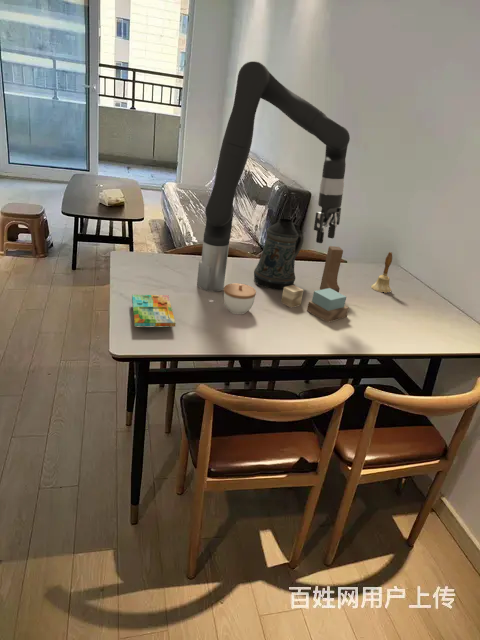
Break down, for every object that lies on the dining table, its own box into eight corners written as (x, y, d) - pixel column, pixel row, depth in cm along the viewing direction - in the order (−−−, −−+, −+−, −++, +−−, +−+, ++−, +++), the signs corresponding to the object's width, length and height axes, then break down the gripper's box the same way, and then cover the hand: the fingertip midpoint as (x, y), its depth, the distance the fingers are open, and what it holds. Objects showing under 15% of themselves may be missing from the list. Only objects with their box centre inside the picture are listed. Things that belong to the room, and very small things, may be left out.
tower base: (327, 323, 162) (330, 313, 160) (306, 311, 168) (308, 301, 166) (346, 317, 168) (348, 307, 166) (324, 306, 174) (327, 296, 172)
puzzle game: (168, 292, 156) (175, 320, 139) (167, 305, 158) (174, 334, 141) (132, 291, 153) (134, 320, 136) (131, 305, 155) (134, 334, 138)
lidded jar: (237, 301, 168) (240, 276, 164) (259, 313, 161) (263, 287, 157) (214, 307, 160) (217, 282, 156) (236, 320, 154) (240, 293, 150)
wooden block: (337, 299, 181) (348, 254, 173) (326, 298, 180) (336, 253, 173) (329, 289, 189) (339, 246, 181) (319, 289, 188) (328, 245, 180)
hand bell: (384, 294, 192) (394, 257, 185) (367, 287, 198) (376, 250, 191) (395, 291, 198) (405, 254, 191) (378, 283, 203) (388, 248, 196)
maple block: (290, 307, 169) (293, 292, 166) (281, 302, 172) (283, 287, 169) (300, 305, 172) (303, 290, 169) (290, 299, 175) (293, 284, 172)
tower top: (328, 310, 161) (330, 300, 159) (311, 301, 167) (314, 291, 165) (343, 307, 166) (346, 296, 164) (327, 298, 171) (329, 288, 170)
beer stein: (247, 283, 184) (256, 220, 173) (262, 269, 201) (271, 210, 190) (287, 293, 180) (299, 229, 169) (300, 278, 197) (311, 219, 186)
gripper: (330, 188, 163) (324, 234, 169) (310, 192, 152) (305, 242, 159) (350, 191, 159) (344, 238, 166) (331, 196, 148) (325, 246, 155)
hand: (325, 240), depth 162 cm, fingers open, 8 cm apart
